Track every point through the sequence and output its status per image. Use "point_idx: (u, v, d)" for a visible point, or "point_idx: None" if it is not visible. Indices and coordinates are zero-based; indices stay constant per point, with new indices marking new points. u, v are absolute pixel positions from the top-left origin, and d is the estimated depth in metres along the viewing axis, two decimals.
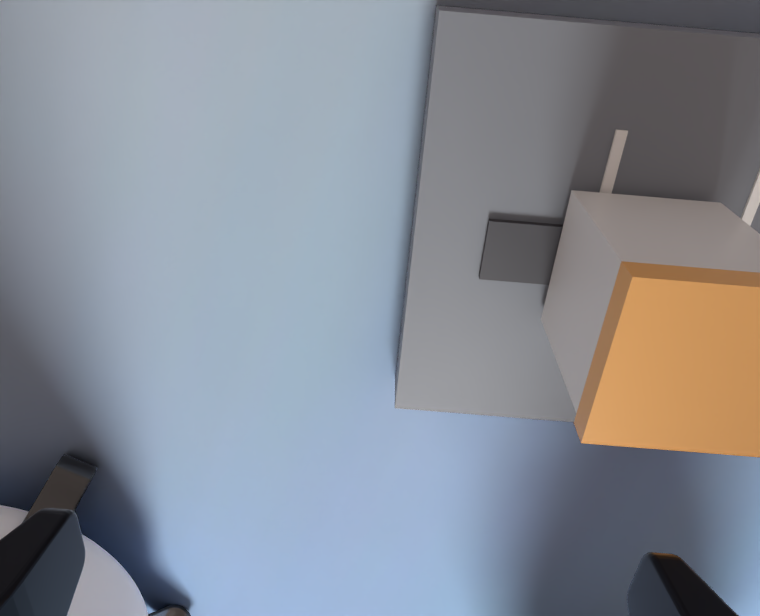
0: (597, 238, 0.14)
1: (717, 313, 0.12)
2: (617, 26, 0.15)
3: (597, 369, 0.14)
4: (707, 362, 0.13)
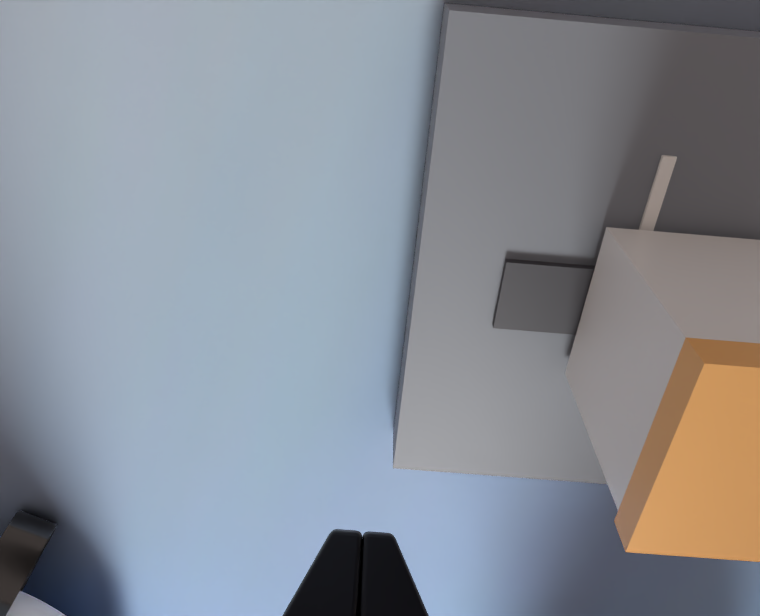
0: (645, 296, 0.12)
1: None
2: (669, 30, 0.12)
3: (649, 466, 0.11)
4: None
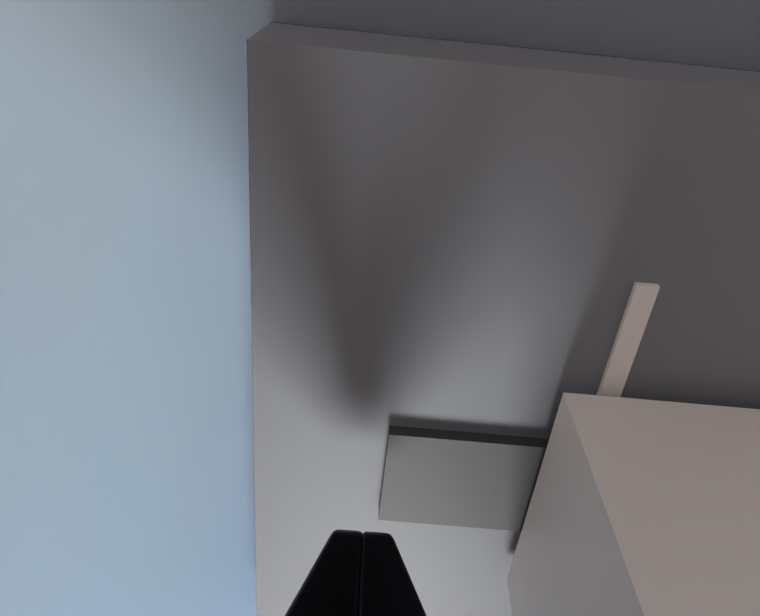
0: (620, 580, 0.06)
1: None
2: (646, 80, 0.07)
3: None
4: None
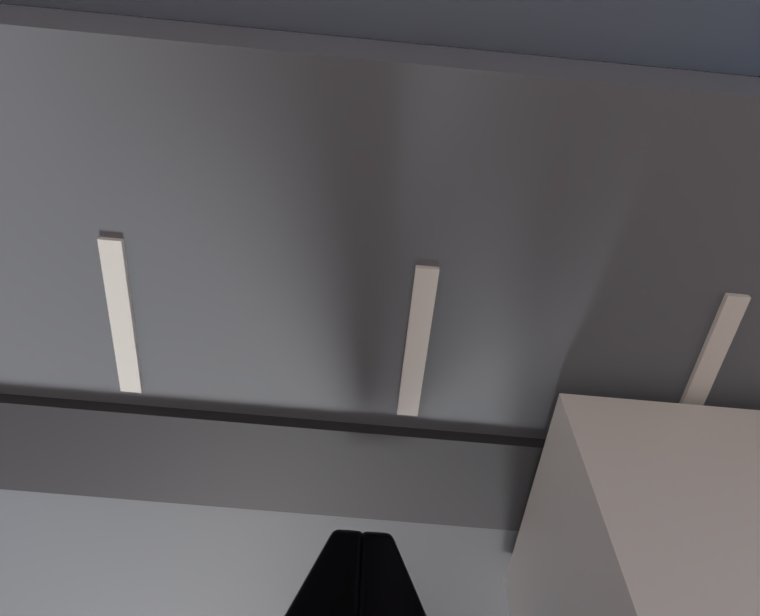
0: (614, 577, 0.06)
1: None
2: (14, 26, 0.07)
3: None
4: None
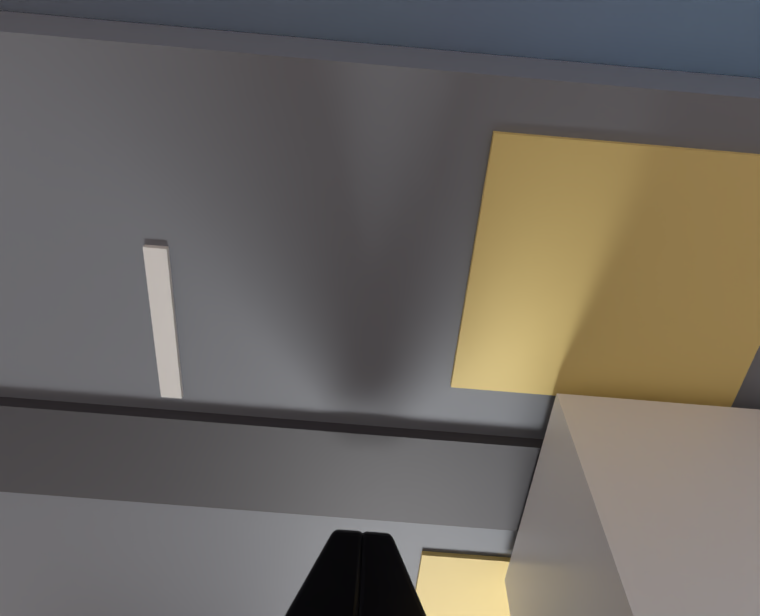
0: (610, 576, 0.06)
1: None
2: None
3: None
4: None
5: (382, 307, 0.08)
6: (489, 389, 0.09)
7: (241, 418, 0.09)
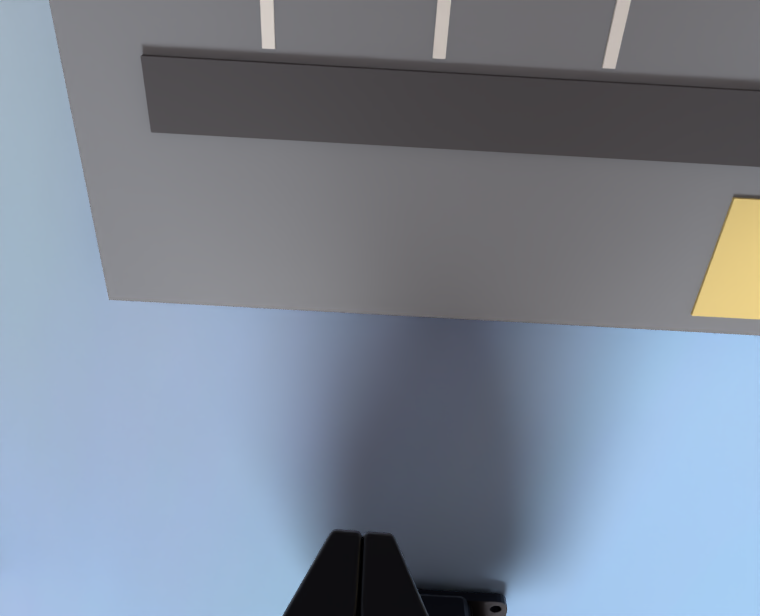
0: None
1: None
2: None
3: None
4: None
5: None
6: None
7: (648, 83, 0.15)
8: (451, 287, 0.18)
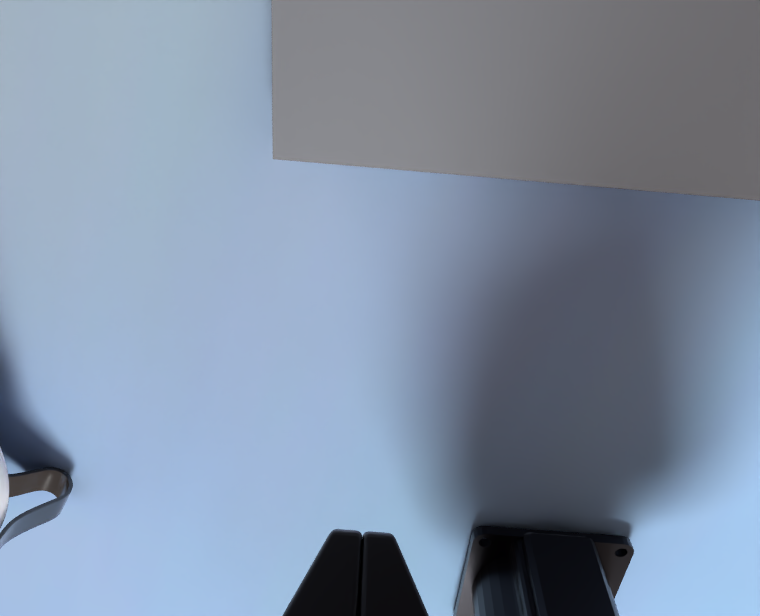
0: None
1: None
2: None
3: None
4: None
5: None
6: None
7: None
8: (658, 152, 0.16)
